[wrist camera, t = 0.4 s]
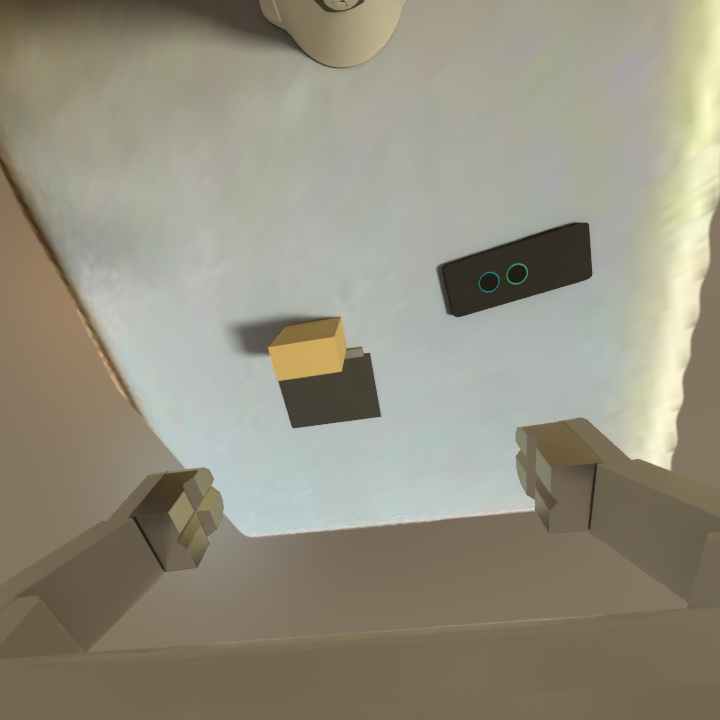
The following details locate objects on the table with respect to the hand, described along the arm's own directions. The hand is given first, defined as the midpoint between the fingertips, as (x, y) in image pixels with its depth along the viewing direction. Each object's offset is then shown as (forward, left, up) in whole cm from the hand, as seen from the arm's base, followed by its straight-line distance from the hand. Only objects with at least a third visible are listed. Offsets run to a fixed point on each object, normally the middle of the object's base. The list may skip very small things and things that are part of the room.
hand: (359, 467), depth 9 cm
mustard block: (+9, -10, -44) cm, 46 cm away
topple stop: (+18, -10, -44) cm, 49 cm away
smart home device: (+4, +21, -45) cm, 49 cm away
